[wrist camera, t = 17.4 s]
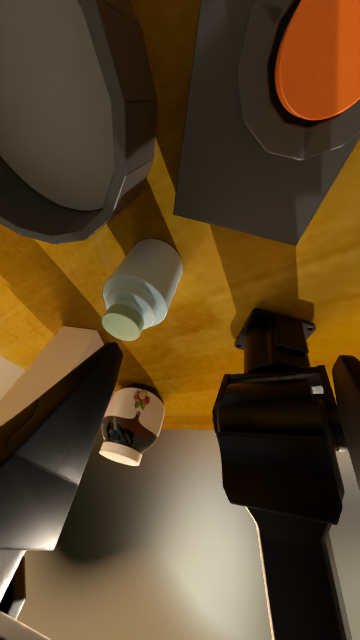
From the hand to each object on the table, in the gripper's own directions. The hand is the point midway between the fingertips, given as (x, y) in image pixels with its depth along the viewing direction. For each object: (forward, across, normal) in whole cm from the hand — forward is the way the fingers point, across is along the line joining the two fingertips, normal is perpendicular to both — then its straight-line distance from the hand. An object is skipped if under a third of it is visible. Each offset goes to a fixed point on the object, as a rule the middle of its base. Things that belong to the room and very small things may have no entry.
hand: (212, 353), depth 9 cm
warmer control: (+12, -2, -6) cm, 14 cm away
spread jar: (+13, +20, +31) cm, 39 cm away
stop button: (+9, -4, -8) cm, 13 cm away
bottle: (+12, +7, +3) cm, 15 cm away
